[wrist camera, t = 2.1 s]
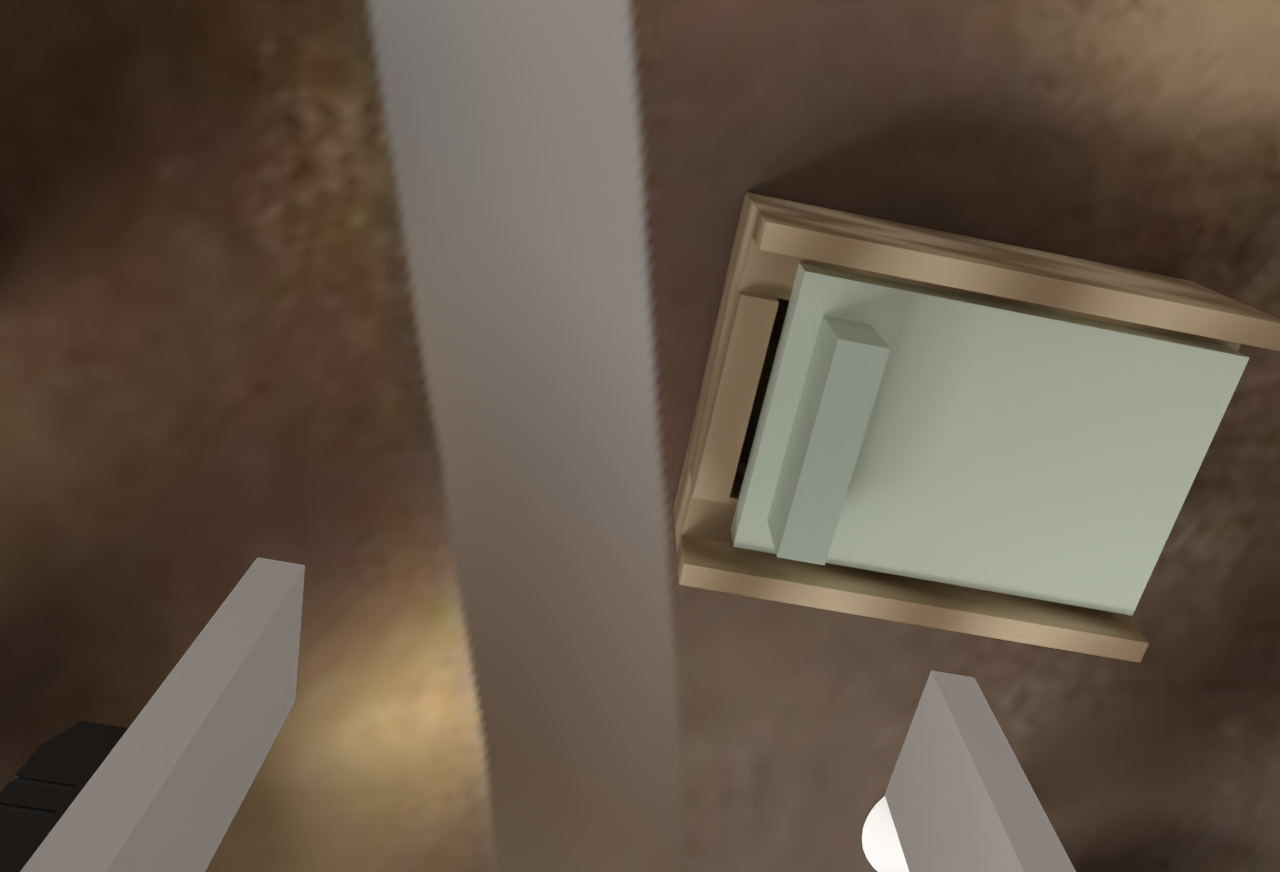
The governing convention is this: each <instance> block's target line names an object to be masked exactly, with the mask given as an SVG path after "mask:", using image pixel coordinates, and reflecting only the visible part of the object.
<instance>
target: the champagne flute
mask: <svg viewBox="0 0 1280 872" xmlns="http://www.w3.org/2000/svg"><path fill="white" fill-rule="evenodd" d="M862 845H863V850H864V852H865V855H866V858H867V859H868V861H869V862H870V864H871V865H872V867H873V868H874V869H875V870H877V871H878V872H909V869H908V866H907V863H906V860H905V857H904V853H903V850H902V847H901V844H900V841H899V838H898V835H897V832H896V829H895V826H894V822H893V819H892V816H891V813H890V810H889V807H888V804H887V801H886V798H885V796H884V797H883V798H882V799H881V800H880V801H879V802H878V803H877V804H876V805H875V806H874V807H873V809H872V810H871V812H870V813H869V815H868V817H867V819H866V821H865V824H864V826H863V833H862Z"/></svg>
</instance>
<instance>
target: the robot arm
mask: <svg viewBox="0 0 1280 872" xmlns="http://www.w3.org/2000/svg"><path fill="white" fill-rule="evenodd" d="M304 574H305V565H301V564H295V563H289V562H283V561H277V560H271V559H265V558H259V557H257V559H256V560H255V561H254V562H253V564H252V565H251V566H250V568H249V569H248V570H247V572H246V573H245V574H244V576H243V577H242V578H241V580H240V581H239V582H238V584H237V585H236V586H235V588H234V589H233V590H232V592H231V593H230V594H229V596H228V597H227V598H226V600H225V601H224V602H223V604H222V605H221V606H220V608H219V609H218V610H217V612H216V613H215V614H214V615H213V617H212V618H211V619H210V621H209V622H208V623H207V625H206V626H205V627H204V629H203V630H202V631H201V633H200V634H199V635H198V637H197V638H196V639H195V641H194V642H193V643H192V645H191V646H190V647H189V649H188V650H187V651H186V653H185V654H184V655H183V657H182V658H181V659H180V661H179V662H178V663H177V664H176V666H175V667H174V668H173V670H172V671H171V672H170V674H169V675H168V676H167V678H166V679H165V680H164V682H163V683H162V684H161V686H160V687H159V688H158V690H157V691H156V692H155V694H154V695H153V696H152V698H151V699H150V700H149V702H148V703H147V704H146V706H145V707H144V708H143V710H142V711H141V712H140V713H139V715H138V716H137V717H136V719H135V720H134V721H133V723H132V724H131V725H130V727H129V728H122V727H116V726H109V725H103V724H96V723H90V722H83V721H80V722H78V723H76V724H75V725H73V726H72V727H70V728H68V729H67V730H65V731H64V732H62V733H60V734H59V735H57V736H55V737H54V738H52V739H51V740H49V741H47V742H46V743H44V744H43V745H41V746H40V747H39V749H38V750H37V751H36V752H35V753H34V754H33V756H32V757H31V758H30V759H29V760H28V761H27V762H26V764H25V765H24V766H23V767H22V768H21V769H20V771H19V772H18V773H17V774H16V775H15V778H14V781H13V782H9V783H8V785H7V786H6V787H5V788H4V789H3V790H2V792H1V793H0V872H205V871H206V869H207V868H208V866H209V864H210V862H211V860H212V858H213V856H214V854H215V853H216V851H217V849H218V847H219V845H220V843H221V841H222V839H223V837H224V836H225V834H226V832H227V830H228V828H229V826H230V824H231V822H232V820H233V819H234V817H235V815H236V813H237V811H238V809H239V807H240V805H241V804H242V802H243V800H244V798H245V796H246V794H247V792H248V790H249V788H250V787H251V785H252V783H253V781H254V779H255V777H256V775H257V773H258V771H259V770H260V768H261V766H262V764H263V762H264V760H265V758H266V756H267V755H268V753H269V751H270V749H271V747H272V745H273V743H274V741H275V739H276V738H277V736H278V734H279V732H280V730H281V728H282V726H283V724H284V722H285V721H286V719H287V717H288V715H289V713H290V711H291V709H292V707H293V705H294V704H295V700H296V686H297V672H298V658H299V644H300V630H301V616H302V602H303V588H304ZM885 798H886V801H887V804H888V807H889V810H890V813H891V816H892V819H893V822H894V826H895V829H896V832H897V835H898V838H899V841H900V844H901V847H902V850H903V853H904V857H905V860H906V863H907V866H908V869H909V872H1076V871H1075V869H1074V867H1073V865H1072V863H1071V861H1070V859H1069V857H1068V855H1067V853H1066V852H1065V850H1064V848H1063V846H1062V844H1061V842H1060V840H1059V838H1058V836H1057V834H1056V833H1055V831H1054V829H1053V827H1052V825H1051V823H1050V821H1049V819H1048V817H1047V815H1046V813H1045V812H1044V810H1043V808H1042V806H1041V804H1040V802H1039V800H1038V798H1037V796H1036V794H1035V792H1034V791H1033V789H1032V787H1031V785H1030V783H1029V781H1028V779H1027V777H1026V775H1025V773H1024V772H1023V770H1022V768H1021V766H1020V764H1019V762H1018V760H1017V758H1016V756H1015V754H1014V752H1013V751H1012V749H1011V747H1010V745H1009V743H1008V741H1007V739H1006V737H1005V735H1004V733H1003V731H1002V730H1001V728H1000V726H999V724H998V722H997V720H996V718H995V716H994V714H993V712H992V711H991V709H990V707H989V705H988V703H987V701H986V699H985V697H984V695H983V693H982V691H981V690H980V688H979V686H978V684H977V682H976V680H975V678H973V677H967V676H961V675H955V674H949V673H943V672H937V671H932V670H931V672H930V675H929V678H928V680H927V683H926V686H925V688H924V691H923V694H922V696H921V699H920V702H919V704H918V707H917V710H916V712H915V715H914V718H913V720H912V723H911V726H910V728H909V731H908V734H907V736H906V739H905V742H904V745H903V747H902V750H901V753H900V755H899V758H898V761H897V763H896V766H895V769H894V771H893V774H892V777H891V779H890V782H889V785H888V787H887V790H886V793H885Z"/></svg>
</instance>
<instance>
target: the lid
mask: <svg viewBox="0 0 1280 872" xmlns="http://www.w3.org/2000/svg"><path fill="white" fill-rule="evenodd" d="M1249 358H1250V357H1248V356H1246V355H1244V354H1242V353H1240V352H1238V351H1236V350H1234V349H1232V348H1230V347H1228V346H1224V345H1219V344H1214V343H1209V342H1203V341H1198V340H1193V339H1188V338H1183V337H1178V336H1173V335H1167V334H1162V333H1157V332H1152V331H1147V330H1142V329H1137V328H1132V327H1126V326H1121V325H1116V324H1111V323H1106V322H1101V321H1096V320H1090V319H1085V318H1080V317H1075V316H1070V315H1065V314H1060V313H1055V312H1049V311H1044V310H1039V309H1034V308H1029V307H1024V306H1019V305H1013V304H1008V303H1003V302H998V301H993V300H988V299H983V298H978V297H972V296H967V295H962V294H957V293H952V292H947V291H942V290H936V289H931V288H926V287H921V286H916V285H911V284H906V283H901V282H895V281H890V280H885V279H880V278H875V277H870V276H865V275H859V274H854V273H849V272H844V271H839V270H834V269H829V268H824V267H818V266H813V265H808V264H803V263H799V265H798V269H797V273H796V277H795V281H794V285H793V289H792V292H791V296H790V300H789V304H788V308H787V312H786V316H785V320H784V323H783V327H782V331H781V335H780V339H779V343H778V347H777V351H776V354H775V358H774V362H773V366H772V370H771V374H770V378H769V382H768V386H767V389H766V393H765V397H764V401H763V405H762V409H761V413H760V417H759V420H758V424H757V428H756V432H755V436H754V440H753V444H752V448H751V451H750V455H749V459H748V463H747V467H746V471H745V475H744V479H743V483H742V486H741V490H740V494H739V498H738V502H737V506H736V510H735V514H734V517H733V521H732V525H731V529H730V531H731V536H732V542H733V547H738V548H743V549H749V550H755V551H761V552H767V553H772V554H776V556H777V557H778V558H784V559H790V560H796V561H801V562H807V563H813V564H819V565H825V563H830V564H836V565H842V566H848V567H853V568H859V569H865V570H871V571H877V572H882V573H888V574H894V575H900V576H906V577H911V578H917V579H923V580H929V581H935V582H940V583H946V584H952V585H958V586H963V587H969V588H975V589H981V590H987V591H992V592H998V593H1004V594H1010V595H1016V596H1021V597H1027V598H1033V599H1039V600H1045V601H1050V602H1056V603H1062V604H1068V605H1074V606H1079V607H1085V608H1091V609H1097V610H1102V611H1108V612H1114V613H1120V614H1126V615H1131V616H1132V615H1133V613H1134V611H1135V609H1136V607H1137V604H1138V602H1139V600H1140V598H1141V596H1142V593H1143V591H1144V589H1145V587H1146V585H1147V582H1148V580H1149V578H1150V576H1151V574H1152V571H1153V569H1154V567H1155V565H1156V563H1157V560H1158V558H1159V556H1160V554H1161V552H1162V549H1163V547H1164V545H1165V543H1166V541H1167V538H1168V536H1169V534H1170V532H1171V530H1172V527H1173V525H1174V523H1175V521H1176V519H1177V516H1178V514H1179V512H1180V510H1181V508H1182V505H1183V503H1184V501H1185V499H1186V497H1187V494H1188V492H1189V490H1190V488H1191V486H1192V483H1193V481H1194V479H1195V477H1196V475H1197V472H1198V470H1199V468H1200V466H1201V464H1202V461H1203V459H1204V457H1205V455H1206V453H1207V450H1208V448H1209V446H1210V444H1211V442H1212V439H1213V437H1214V435H1215V433H1216V431H1217V428H1218V426H1219V424H1220V422H1221V420H1222V417H1223V415H1224V413H1225V411H1226V409H1227V407H1228V404H1229V402H1230V400H1231V398H1232V396H1233V393H1234V391H1235V389H1236V387H1237V385H1238V382H1239V380H1240V378H1241V376H1242V374H1243V371H1244V369H1245V367H1246V365H1247V363H1248V360H1249Z"/></svg>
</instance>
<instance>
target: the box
mask: <svg viewBox="0 0 1280 872" xmlns="http://www.w3.org/2000/svg"><path fill="white" fill-rule="evenodd" d="M799 263H803V264H808V265H813V266H818V267H824V268H829V269H834V270H839V271H844V272H849V273H854V274H859V275H865V276H870V277H875V278H880V279H885V280H890V281H895V282H901V283H906V284H911V285H916V286H921V287H926V288H931V289H936V290H942V291H947V292H952V293H957V294H962V295H967V296H972V297H978V298H983V299H988V300H993V301H998V302H1003V303H1008V304H1013V305H1019V306H1024V307H1029V308H1034V309H1039V310H1044V311H1049V312H1055V313H1060V314H1065V315H1070V316H1075V317H1080V318H1085V319H1090V320H1096V321H1101V322H1106V323H1111V324H1116V325H1121V326H1126V327H1132V328H1137V329H1142V330H1147V331H1152V332H1157V333H1162V334H1167V335H1173V336H1178V337H1183V338H1188V339H1193V340H1198V341H1203V342H1209V343H1214V344H1219V345H1224V346H1228V347H1230V348H1232V349H1234V350H1236V351H1238V350H1239V348H1240V346H1241V344H1245V345H1250V346H1255V347H1261V348H1266V349H1271V350H1276V351H1280V319H1279V318H1276V317H1274V316H1272V315H1269V314H1267V313H1264V312H1262V311H1260V310H1257V309H1255V308H1253V307H1250V306H1248V305H1246V304H1243V303H1241V302H1239V301H1236V300H1234V299H1232V298H1229V297H1227V296H1225V295H1222V294H1220V293H1218V292H1215V291H1213V290H1211V289H1208V288H1206V287H1204V286H1201V285H1199V284H1197V283H1194V282H1192V281H1190V280H1185V279H1180V278H1175V277H1170V276H1165V275H1160V274H1155V273H1150V272H1145V271H1140V270H1135V269H1130V268H1125V267H1120V266H1115V265H1110V264H1105V263H1100V262H1095V261H1090V260H1085V259H1080V258H1075V257H1070V256H1065V255H1060V254H1055V253H1050V252H1045V251H1040V250H1035V249H1030V248H1025V247H1020V246H1015V245H1010V244H1005V243H1000V242H995V241H990V240H985V239H980V238H975V237H970V236H965V235H960V234H955V233H950V232H945V231H940V230H935V229H930V228H925V227H919V226H914V225H909V224H904V223H899V222H894V221H889V220H884V219H879V218H874V217H869V216H864V215H859V214H854V213H849V212H844V211H839V210H834V209H829V208H824V207H819V206H814V205H809V204H804V203H799V202H794V201H789V200H784V199H779V198H774V197H769V196H764V195H759V194H754V193H749V192H745V195H744V199H743V203H742V208H741V212H740V216H739V221H738V225H737V229H736V234H735V238H734V243H733V247H732V251H731V256H730V260H729V264H728V269H727V273H726V277H725V282H724V286H723V290H722V295H721V299H720V303H719V308H718V312H717V317H716V321H715V325H714V330H713V334H712V338H711V343H710V347H709V351H708V356H707V360H706V364H705V369H704V373H703V378H702V382H701V386H700V391H699V395H698V399H697V404H696V408H695V412H694V417H693V421H692V425H691V430H690V434H689V439H688V443H687V447H686V452H685V456H684V460H683V465H682V469H681V473H680V478H679V482H678V486H677V491H676V495H675V499H674V517H675V532H676V547H677V562H678V577H679V585H684V586H690V587H696V588H702V589H707V590H713V591H719V592H725V593H731V594H737V595H743V596H749V597H755V598H761V599H767V600H773V601H778V602H784V603H790V604H796V605H802V606H808V607H814V608H820V609H826V610H832V611H838V612H843V613H849V614H855V615H861V616H867V617H873V618H879V619H885V620H891V621H897V622H903V623H908V624H914V625H920V626H926V627H932V628H938V629H944V630H950V631H956V632H962V633H968V634H973V635H979V636H985V637H991V638H997V639H1003V640H1009V641H1015V642H1021V643H1027V644H1033V645H1038V646H1044V647H1050V648H1056V649H1062V650H1068V651H1074V652H1080V653H1086V654H1092V655H1098V656H1104V657H1109V658H1115V659H1121V660H1127V661H1133V662H1139V663H1140V662H1141V660H1142V658H1143V655H1144V653H1145V651H1146V649H1147V647H1148V645H1149V642H1148V641H1147V640H1146V639H1145V638H1144V636H1143V635H1142V634H1141V633H1140V632H1139V631H1138V629H1137V628H1136V627H1135V626H1134V625H1133V624H1132V622H1131V621H1130V620H1129V619H1128V618H1127V616H1126V615H1125V614H1120V613H1114V612H1108V611H1102V610H1097V609H1091V608H1085V607H1079V606H1074V605H1068V604H1062V603H1056V602H1050V601H1045V600H1039V599H1033V598H1027V597H1021V596H1016V595H1010V594H1004V593H998V592H992V591H987V590H981V589H975V588H969V587H963V586H958V585H952V584H946V583H940V582H935V581H929V580H923V579H917V578H911V577H906V576H900V575H894V574H888V573H882V572H877V571H871V570H865V569H859V568H853V567H848V566H842V565H836V564H830V563H825V565H819V564H813V563H807V562H801V561H796V560H790V559H784V558H778V557H777V556H776V554H772V553H767V552H761V551H755V550H749V549H743V548H738V547H733V542H732V536H731V531H730V529H731V525H732V521H733V517H734V514H735V510H736V506H737V502H738V498H739V494H740V490H741V486H742V483H743V479H744V475H745V471H746V467H747V463H748V459H749V455H750V451H751V448H752V444H753V440H754V436H755V432H756V428H757V424H758V420H759V417H760V413H761V409H762V405H763V401H764V397H765V393H766V389H767V386H768V382H769V378H770V374H771V370H772V366H773V362H774V358H775V354H776V351H777V347H778V343H779V339H780V335H781V331H782V327H783V323H784V320H785V316H786V312H787V308H788V304H789V300H790V296H791V292H792V289H793V285H794V281H795V277H796V273H797V269H798V265H799Z"/></svg>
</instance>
